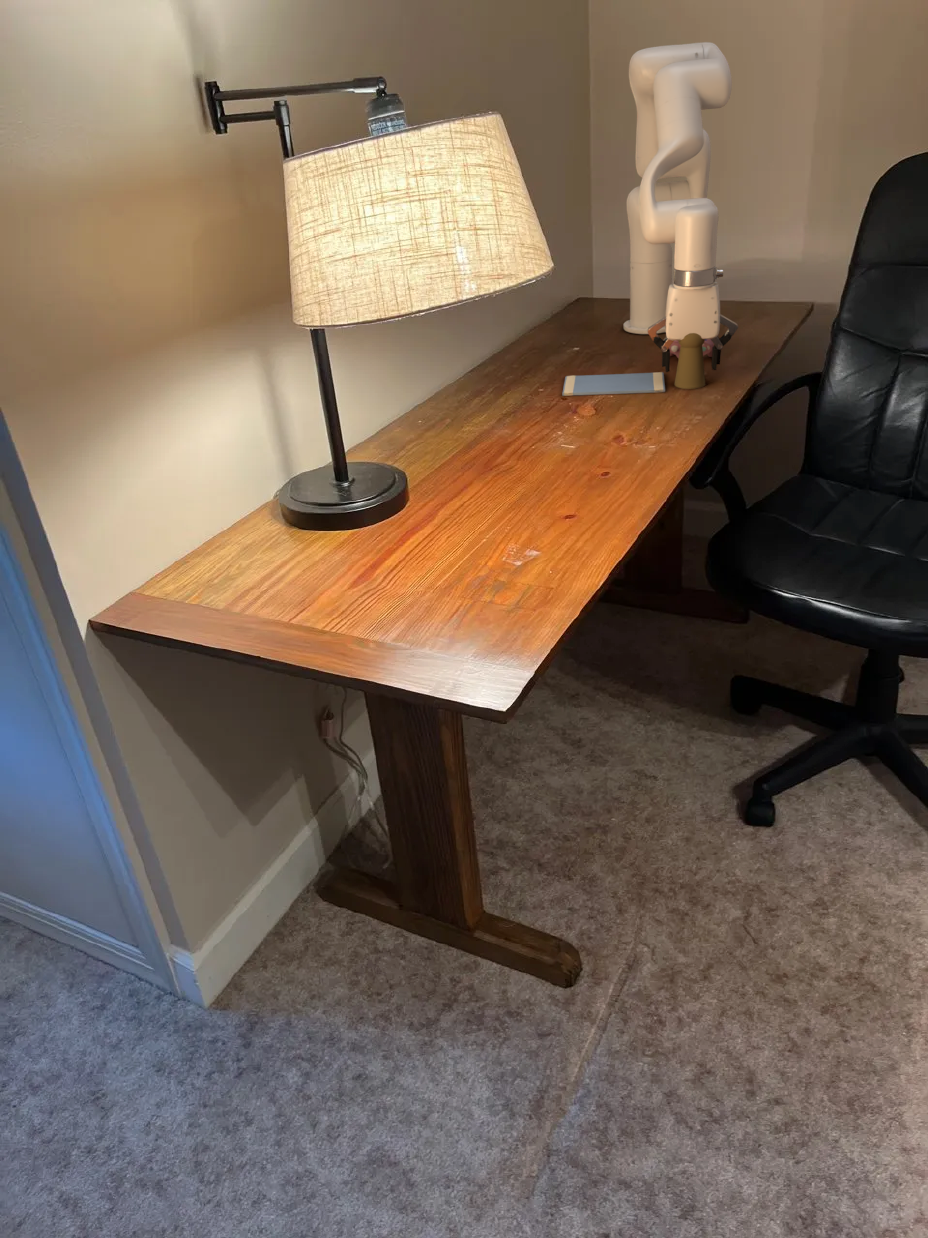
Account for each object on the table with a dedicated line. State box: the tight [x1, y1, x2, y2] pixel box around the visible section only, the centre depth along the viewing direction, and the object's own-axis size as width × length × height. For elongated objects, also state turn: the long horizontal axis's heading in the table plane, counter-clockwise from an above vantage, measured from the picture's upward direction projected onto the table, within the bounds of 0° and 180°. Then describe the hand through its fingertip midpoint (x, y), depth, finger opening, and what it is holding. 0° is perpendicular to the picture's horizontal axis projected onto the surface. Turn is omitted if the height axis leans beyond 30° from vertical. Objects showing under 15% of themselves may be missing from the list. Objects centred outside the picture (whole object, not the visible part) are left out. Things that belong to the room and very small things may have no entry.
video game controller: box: [669, 339, 714, 359], centre depth 197 cm, size 10×5×7 cm, turn 68°
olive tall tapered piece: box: [673, 333, 706, 390], centre depth 182 cm, size 6×6×11 cm
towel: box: [561, 371, 666, 397], centre depth 188 cm, size 11×20×1 cm, turn 81°
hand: (690, 368), depth 183 cm, fingers open, 8 cm apart
